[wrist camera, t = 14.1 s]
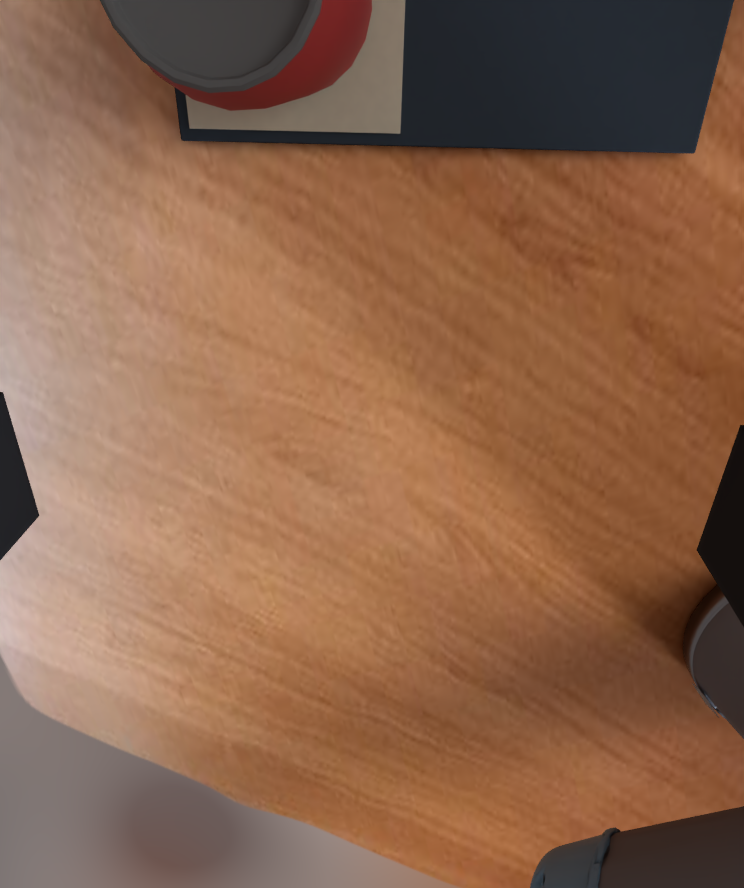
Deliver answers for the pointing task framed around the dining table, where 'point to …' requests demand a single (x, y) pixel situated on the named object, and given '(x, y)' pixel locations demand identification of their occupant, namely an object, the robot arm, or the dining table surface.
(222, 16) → the beer can
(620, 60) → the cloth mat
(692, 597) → the dining table surface
